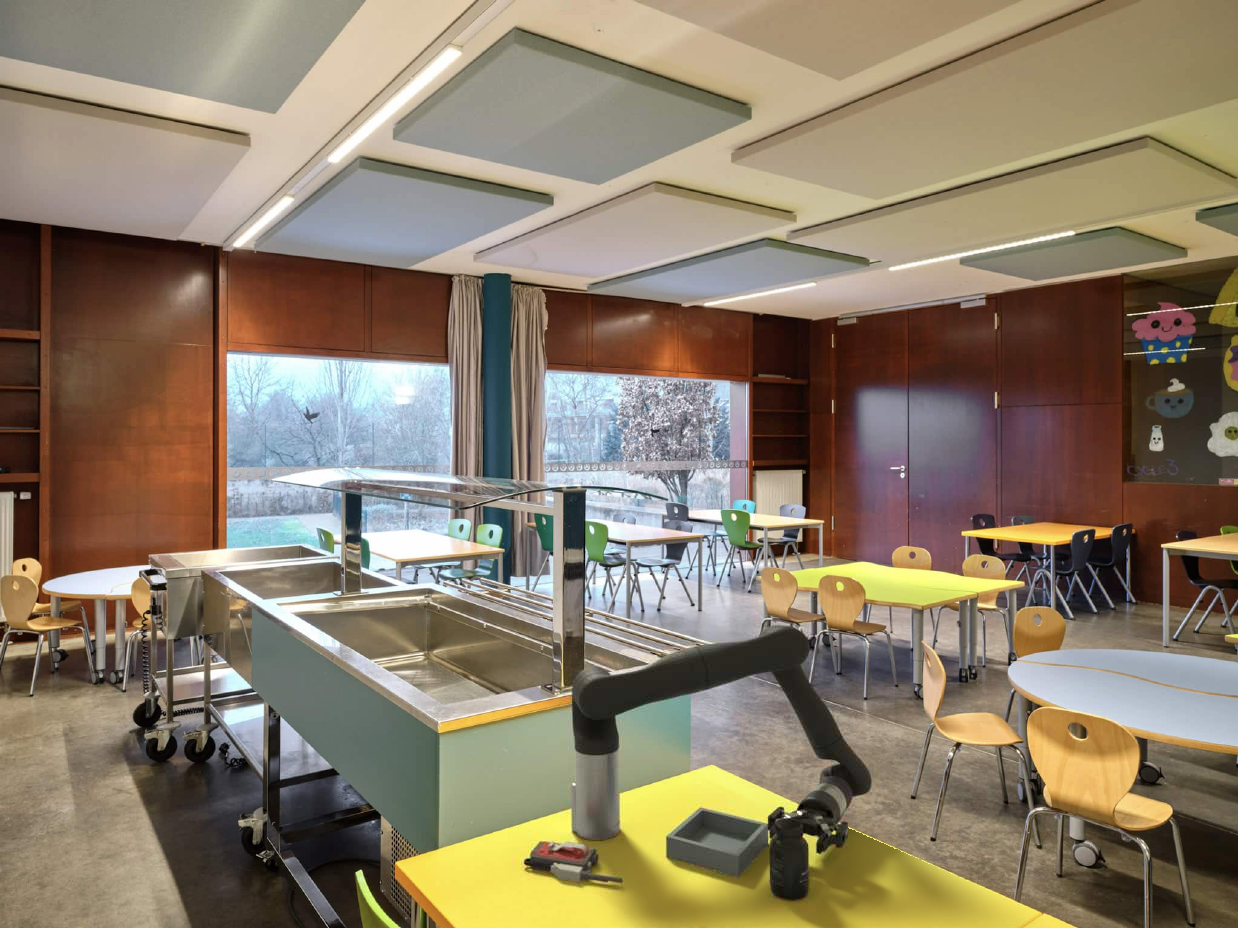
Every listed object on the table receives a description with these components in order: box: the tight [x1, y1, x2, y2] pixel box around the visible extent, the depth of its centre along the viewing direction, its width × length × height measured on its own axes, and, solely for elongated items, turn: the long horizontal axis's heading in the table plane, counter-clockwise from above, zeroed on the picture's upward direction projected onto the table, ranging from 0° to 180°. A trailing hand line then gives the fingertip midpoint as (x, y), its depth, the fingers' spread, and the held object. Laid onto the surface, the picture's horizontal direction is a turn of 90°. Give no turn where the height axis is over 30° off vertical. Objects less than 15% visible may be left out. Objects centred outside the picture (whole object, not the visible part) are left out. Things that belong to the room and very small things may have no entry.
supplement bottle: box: [769, 818, 810, 901], centre depth 141 cm, size 7×7×12 cm
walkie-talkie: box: [523, 840, 624, 884], centre depth 149 cm, size 9×4×20 cm
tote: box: [665, 806, 769, 879], centre depth 156 cm, size 15×15×4 cm
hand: (795, 842), depth 144 cm, fingers open, 8 cm apart
